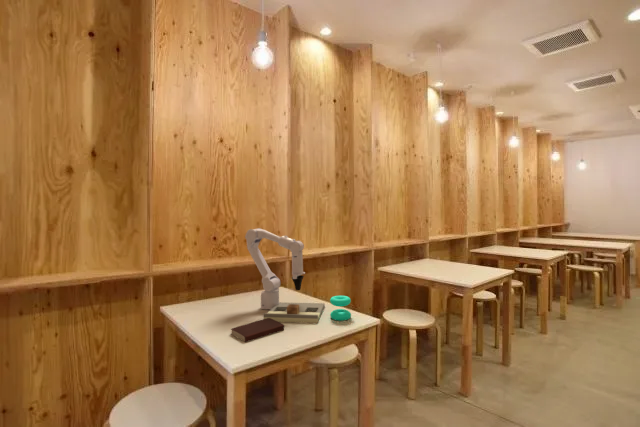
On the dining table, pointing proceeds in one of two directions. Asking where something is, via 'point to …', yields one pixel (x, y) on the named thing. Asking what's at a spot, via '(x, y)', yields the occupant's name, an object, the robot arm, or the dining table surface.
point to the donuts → (340, 313)
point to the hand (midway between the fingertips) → (298, 289)
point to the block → (293, 309)
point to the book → (257, 329)
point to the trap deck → (301, 317)
